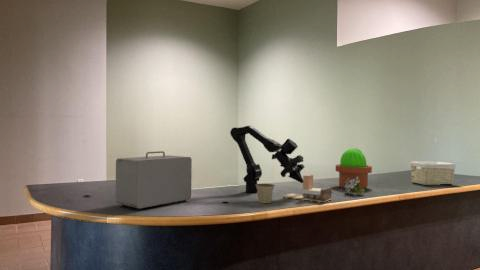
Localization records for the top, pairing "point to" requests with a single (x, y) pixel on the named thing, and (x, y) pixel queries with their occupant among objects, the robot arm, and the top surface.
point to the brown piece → (310, 188)
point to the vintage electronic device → (152, 180)
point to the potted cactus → (353, 168)
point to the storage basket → (432, 173)
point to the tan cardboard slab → (323, 197)
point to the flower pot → (265, 192)
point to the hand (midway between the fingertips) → (302, 182)
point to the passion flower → (354, 186)
